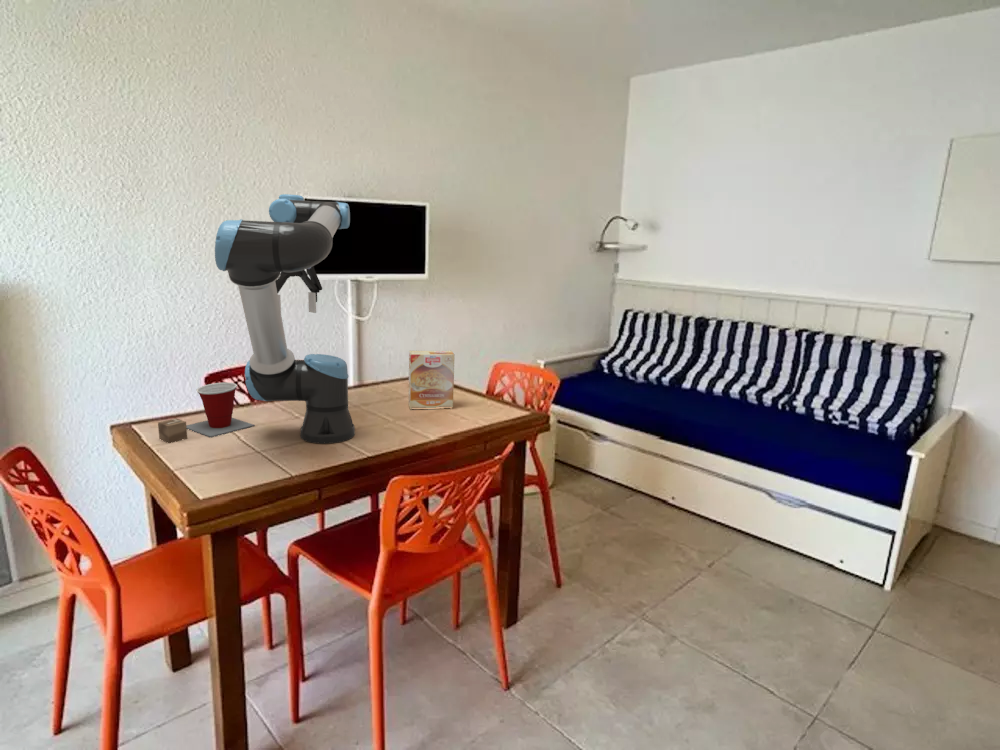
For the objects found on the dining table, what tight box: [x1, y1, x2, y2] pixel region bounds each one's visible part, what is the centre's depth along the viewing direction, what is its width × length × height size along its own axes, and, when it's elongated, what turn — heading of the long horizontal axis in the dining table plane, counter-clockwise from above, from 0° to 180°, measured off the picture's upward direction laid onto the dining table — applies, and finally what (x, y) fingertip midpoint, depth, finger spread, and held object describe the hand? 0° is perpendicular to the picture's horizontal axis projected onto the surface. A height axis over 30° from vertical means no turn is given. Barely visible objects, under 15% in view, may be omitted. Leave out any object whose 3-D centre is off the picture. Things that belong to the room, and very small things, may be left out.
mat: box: [186, 417, 255, 438], centre depth 174 cm, size 14×14×1 cm
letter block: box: [157, 417, 188, 444], centre depth 162 cm, size 5×5×5 cm
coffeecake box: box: [408, 350, 455, 410], centre depth 203 cm, size 15×7×20 cm, turn 104°
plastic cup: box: [196, 381, 238, 428], centre depth 173 cm, size 11×11×12 cm
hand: (295, 314), depth 189 cm, fingers open, 13 cm apart
